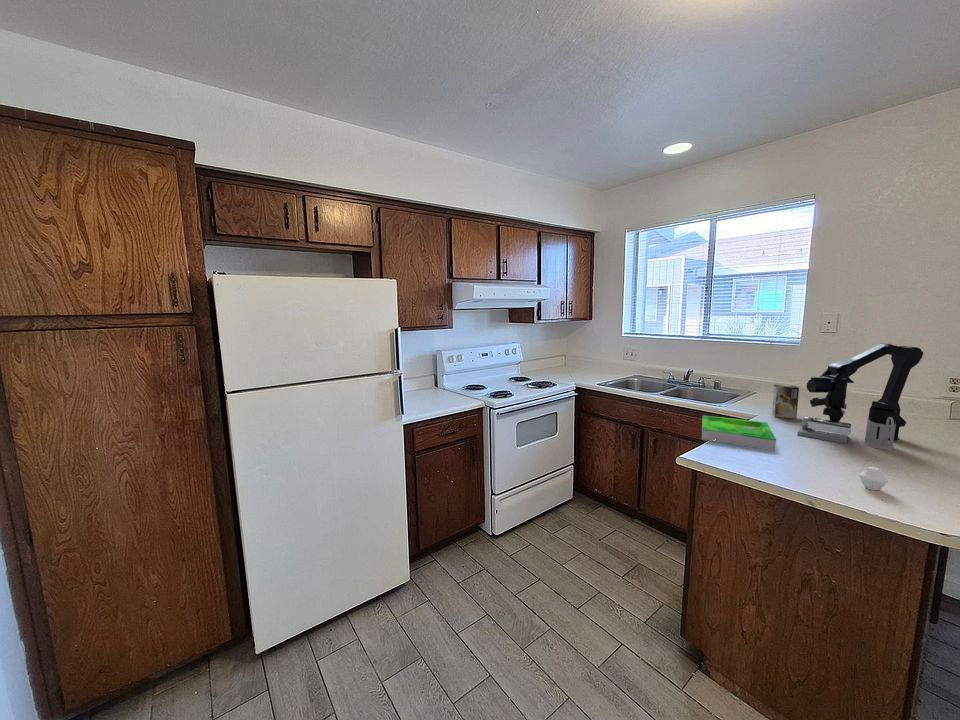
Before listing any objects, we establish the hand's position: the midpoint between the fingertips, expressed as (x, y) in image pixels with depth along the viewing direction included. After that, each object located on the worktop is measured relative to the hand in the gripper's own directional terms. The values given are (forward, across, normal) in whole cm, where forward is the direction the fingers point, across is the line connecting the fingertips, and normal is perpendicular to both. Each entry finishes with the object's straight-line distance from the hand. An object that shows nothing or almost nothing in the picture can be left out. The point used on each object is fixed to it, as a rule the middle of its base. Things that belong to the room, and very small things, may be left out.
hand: (833, 427), depth 163 cm
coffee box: (+4, -22, -20) cm, 30 cm away
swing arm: (+1, +4, -2) cm, 5 cm away
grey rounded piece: (+4, +6, +15) cm, 16 cm away
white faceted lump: (+2, +57, +13) cm, 58 cm away
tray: (+4, +30, -29) cm, 42 cm away
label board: (+4, +4, -3) cm, 6 cm away
